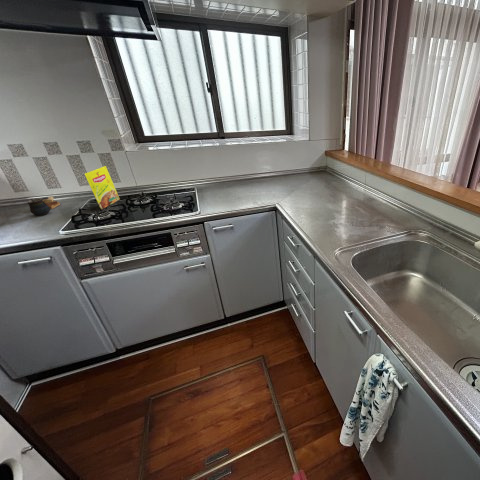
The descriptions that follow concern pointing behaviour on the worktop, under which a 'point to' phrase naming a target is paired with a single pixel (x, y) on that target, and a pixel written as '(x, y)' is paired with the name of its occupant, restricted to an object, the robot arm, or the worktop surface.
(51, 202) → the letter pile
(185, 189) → the worktop surface
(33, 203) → the mate gourd
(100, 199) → the food package
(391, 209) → the worktop surface
